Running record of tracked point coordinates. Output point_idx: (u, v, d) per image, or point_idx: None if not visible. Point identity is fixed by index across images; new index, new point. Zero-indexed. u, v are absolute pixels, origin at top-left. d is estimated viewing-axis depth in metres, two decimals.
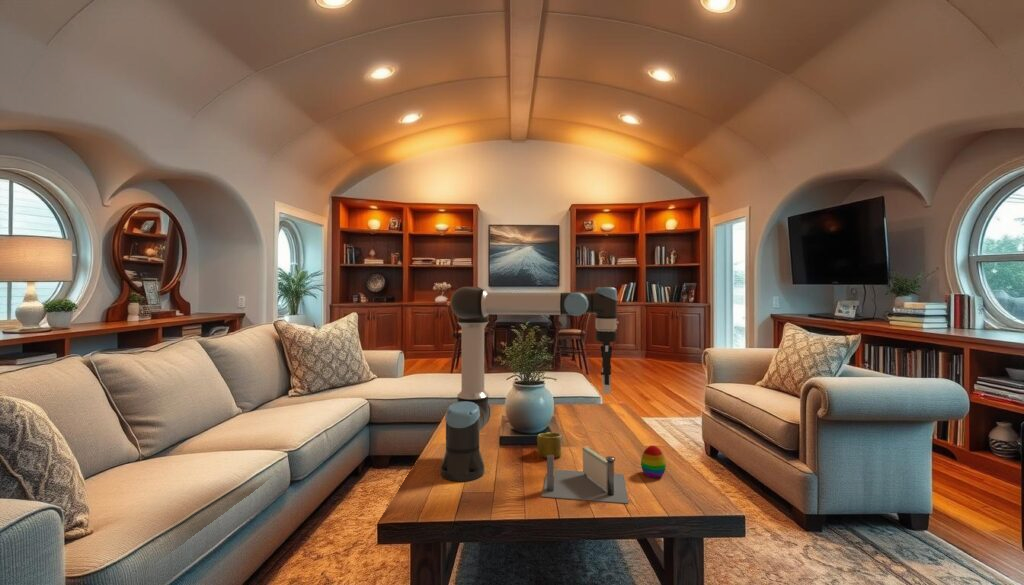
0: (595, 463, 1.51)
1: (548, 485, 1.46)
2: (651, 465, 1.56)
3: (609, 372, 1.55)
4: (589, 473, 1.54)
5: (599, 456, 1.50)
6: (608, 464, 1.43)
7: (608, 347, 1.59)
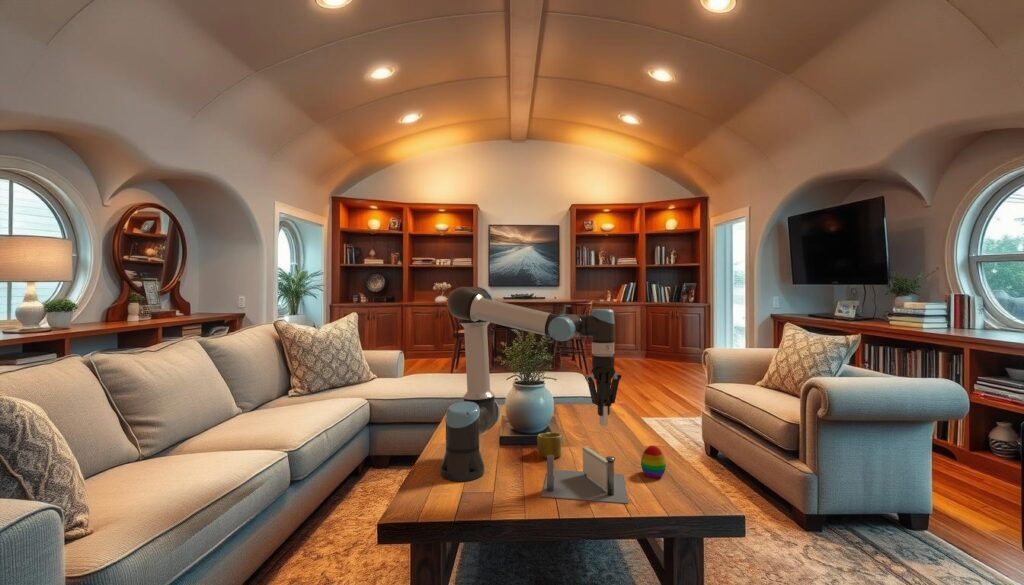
0: (595, 463, 1.51)
1: (548, 485, 1.46)
2: (651, 465, 1.56)
3: None
4: (589, 473, 1.54)
5: (599, 456, 1.50)
6: (608, 464, 1.43)
7: (588, 379, 1.53)
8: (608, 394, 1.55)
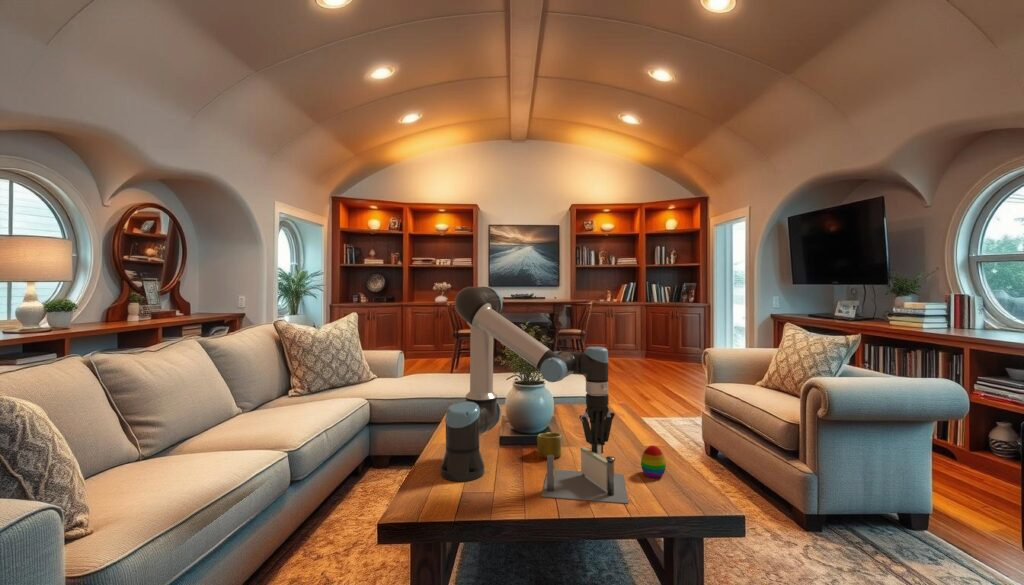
0: (594, 463, 1.51)
1: (548, 485, 1.46)
2: (651, 465, 1.56)
3: (589, 443, 1.53)
4: (588, 474, 1.54)
5: (598, 456, 1.50)
6: (608, 464, 1.43)
7: (582, 419, 1.53)
8: (602, 433, 1.55)
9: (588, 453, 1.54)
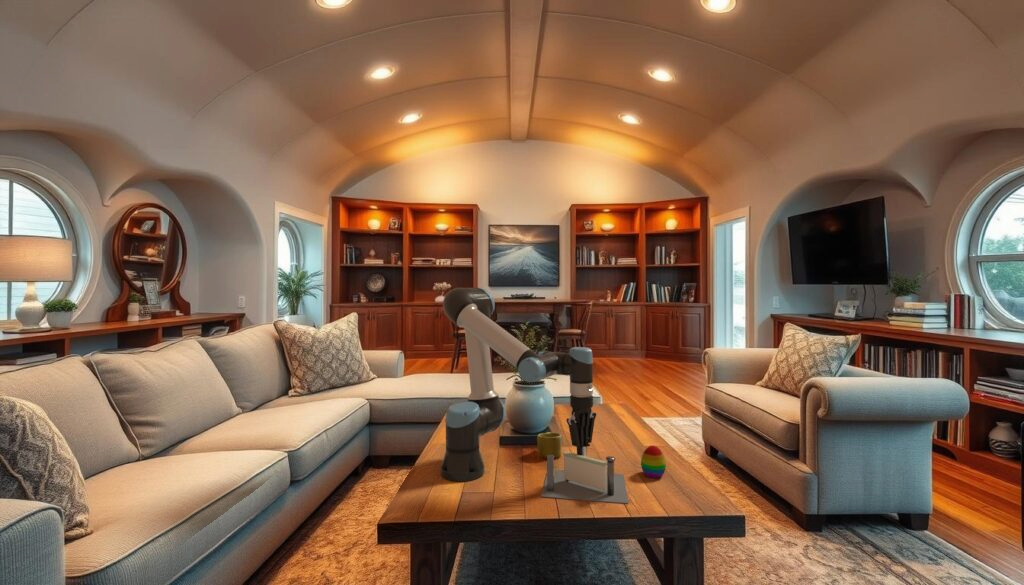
0: (586, 466, 1.48)
1: (548, 485, 1.46)
2: (651, 465, 1.56)
3: (577, 446, 1.50)
4: (576, 478, 1.50)
5: (591, 458, 1.48)
6: (608, 464, 1.43)
7: (570, 422, 1.48)
8: (586, 434, 1.53)
9: (576, 457, 1.50)
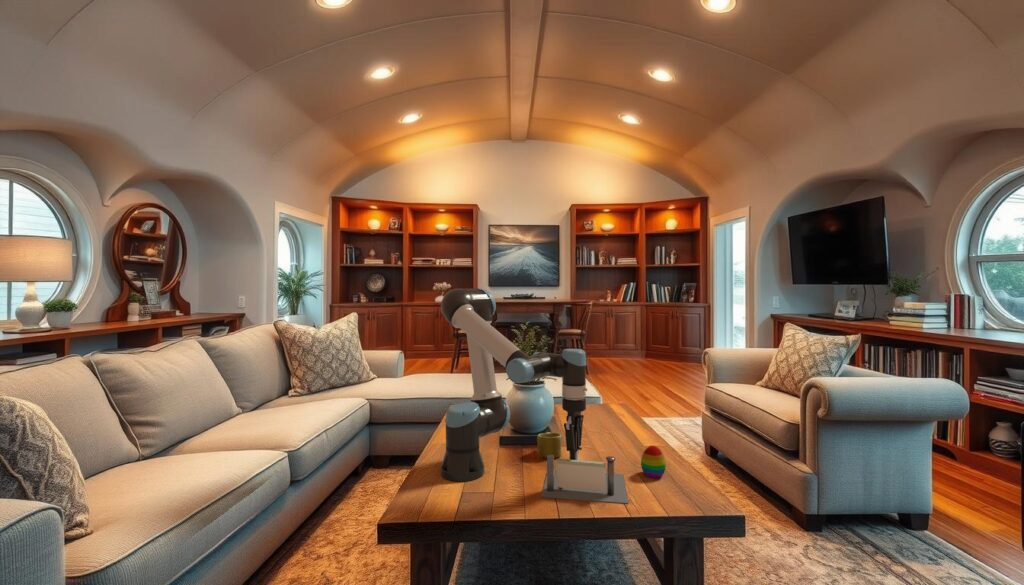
0: (583, 470, 1.45)
1: (548, 485, 1.46)
2: (651, 465, 1.56)
3: (573, 451, 1.45)
4: (572, 484, 1.46)
5: (588, 461, 1.45)
6: (608, 464, 1.43)
7: (569, 427, 1.43)
8: (578, 438, 1.50)
9: (572, 463, 1.45)
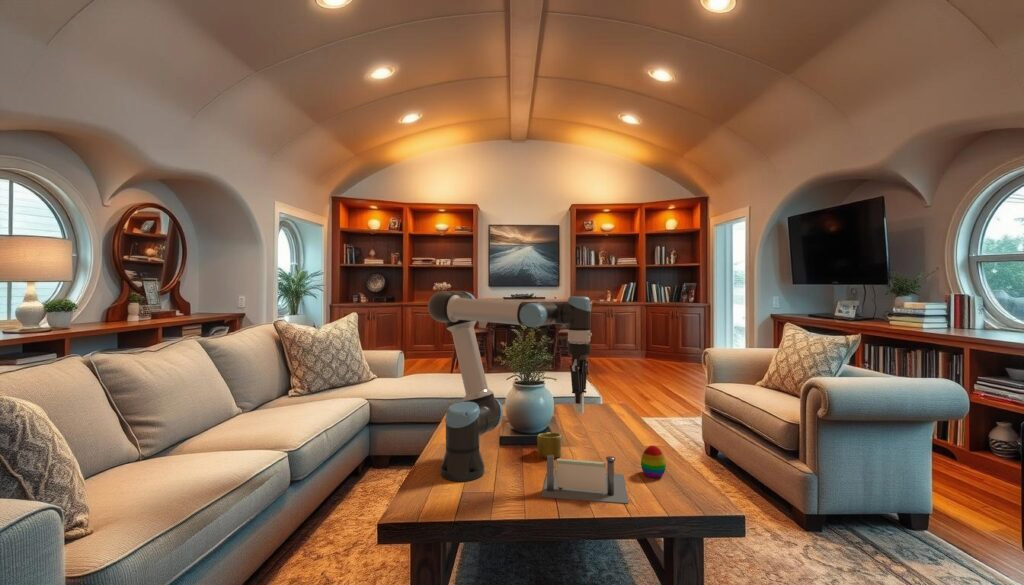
0: (583, 470, 1.45)
1: (548, 485, 1.46)
2: (651, 465, 1.56)
3: (578, 392, 1.52)
4: (572, 484, 1.46)
5: (588, 461, 1.45)
6: (608, 464, 1.43)
7: (575, 368, 1.50)
8: (583, 381, 1.56)
9: (572, 463, 1.45)
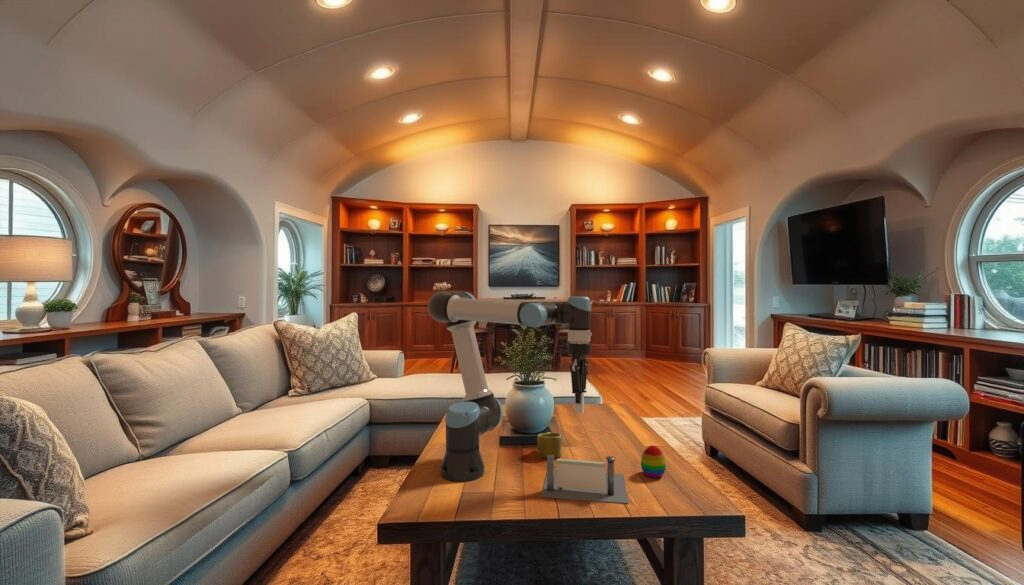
0: (583, 470, 1.45)
1: (548, 485, 1.46)
2: (651, 465, 1.56)
3: (578, 392, 1.52)
4: (572, 484, 1.46)
5: (588, 461, 1.45)
6: (608, 464, 1.43)
7: (575, 368, 1.50)
8: (583, 381, 1.57)
9: (572, 463, 1.45)
